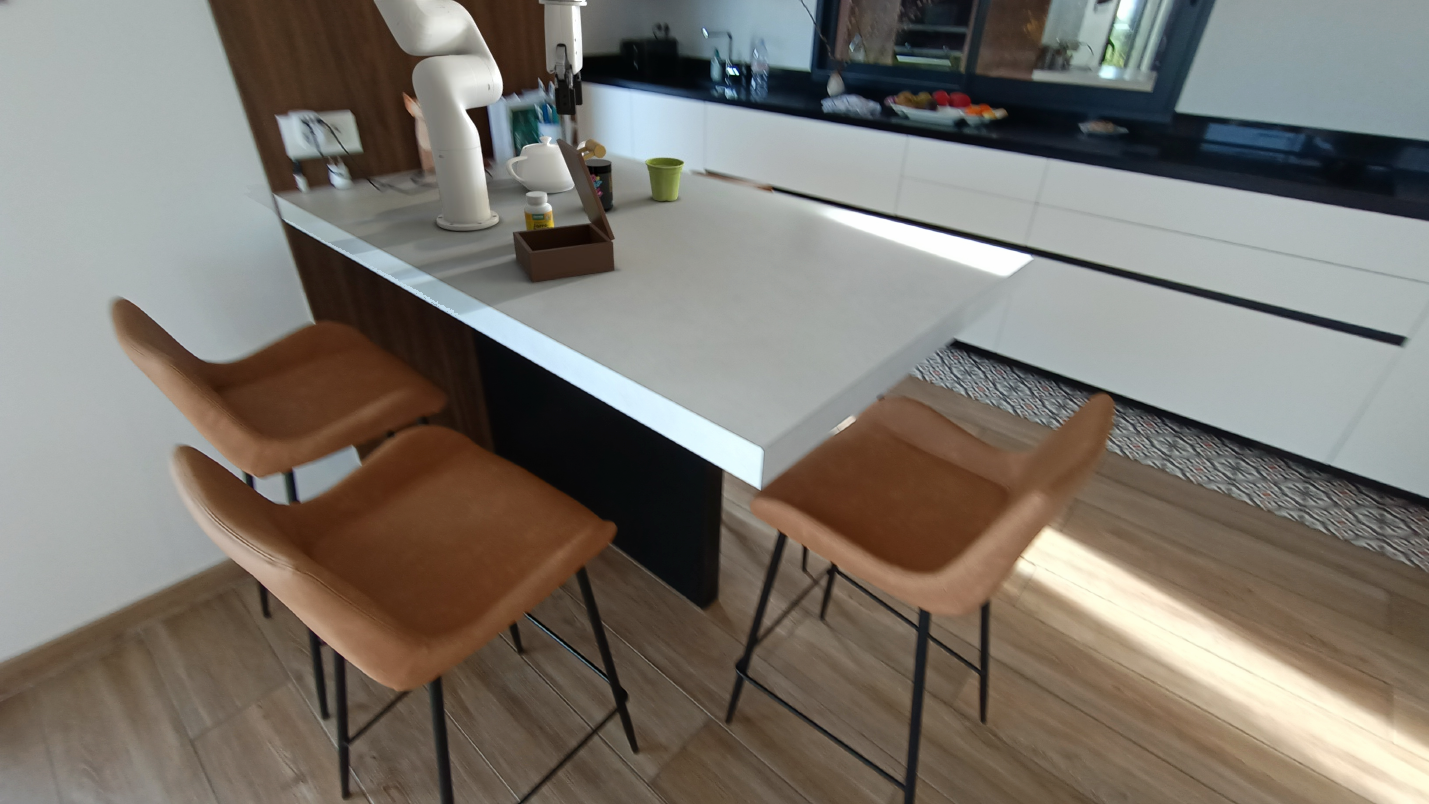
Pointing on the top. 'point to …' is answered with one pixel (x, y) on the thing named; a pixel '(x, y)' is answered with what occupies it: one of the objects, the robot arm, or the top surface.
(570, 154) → the brown drawer front
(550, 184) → the teapot
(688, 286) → the top surface
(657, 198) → the plant pot
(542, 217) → the supplement bottle
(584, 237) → the brown box
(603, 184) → the supplement container
